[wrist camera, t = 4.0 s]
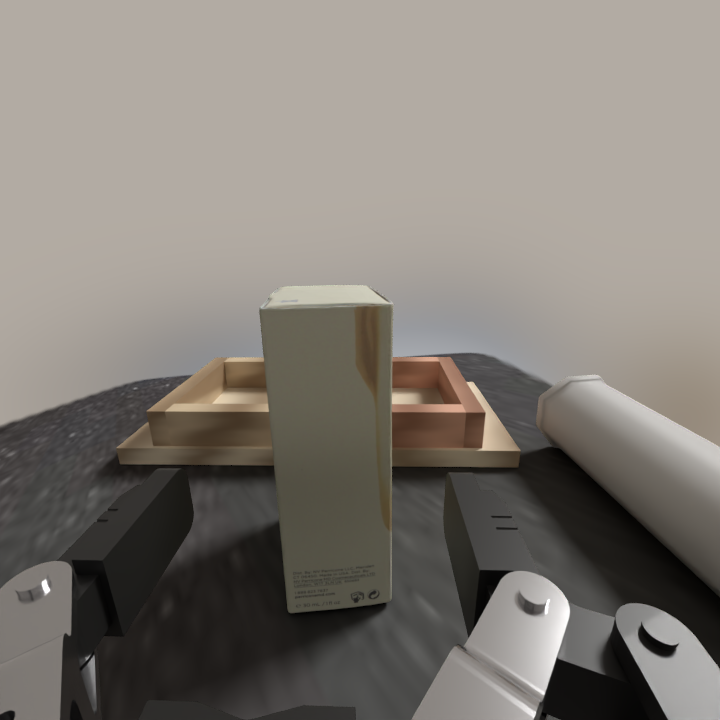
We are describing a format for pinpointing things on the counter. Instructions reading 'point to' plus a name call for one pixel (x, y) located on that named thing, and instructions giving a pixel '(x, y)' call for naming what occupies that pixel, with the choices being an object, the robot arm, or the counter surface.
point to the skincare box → (331, 441)
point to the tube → (642, 466)
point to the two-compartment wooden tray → (253, 434)
